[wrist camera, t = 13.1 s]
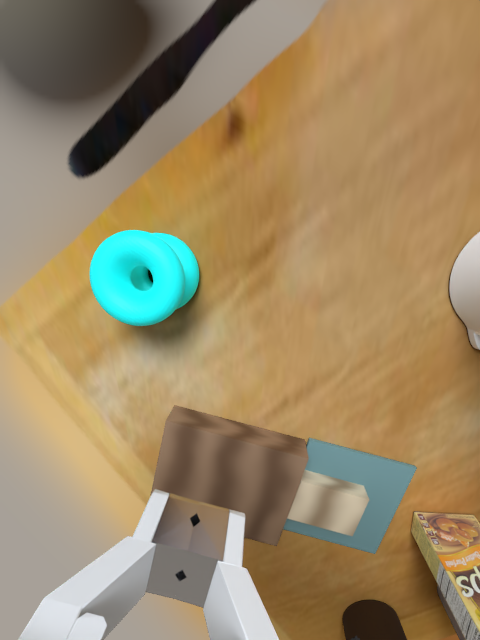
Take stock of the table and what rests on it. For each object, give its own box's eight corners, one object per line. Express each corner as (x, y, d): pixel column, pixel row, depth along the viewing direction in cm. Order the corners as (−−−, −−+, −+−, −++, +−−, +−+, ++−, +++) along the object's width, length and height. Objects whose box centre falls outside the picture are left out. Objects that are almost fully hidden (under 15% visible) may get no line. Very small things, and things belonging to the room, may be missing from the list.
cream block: (363, 485, 44) (369, 499, 42) (347, 521, 46) (352, 536, 44) (299, 468, 44) (301, 481, 42) (285, 504, 46) (287, 518, 44)
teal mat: (415, 465, 43) (416, 468, 43) (373, 550, 48) (374, 553, 47) (309, 437, 43) (309, 439, 43) (277, 524, 48) (278, 527, 47)
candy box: (473, 512, 44) (578, 646, 30) (469, 535, 46) (568, 675, 31) (412, 510, 45) (484, 639, 30) (409, 532, 46) (477, 667, 31)
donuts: (112, 207, 28) (199, 269, 29) (151, 217, 38) (215, 262, 38) (67, 293, 30) (149, 347, 31) (115, 281, 40) (176, 323, 41)
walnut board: (304, 439, 44) (308, 458, 40) (275, 521, 48) (276, 546, 44) (174, 405, 44) (166, 420, 40) (156, 489, 48) (147, 511, 44)
